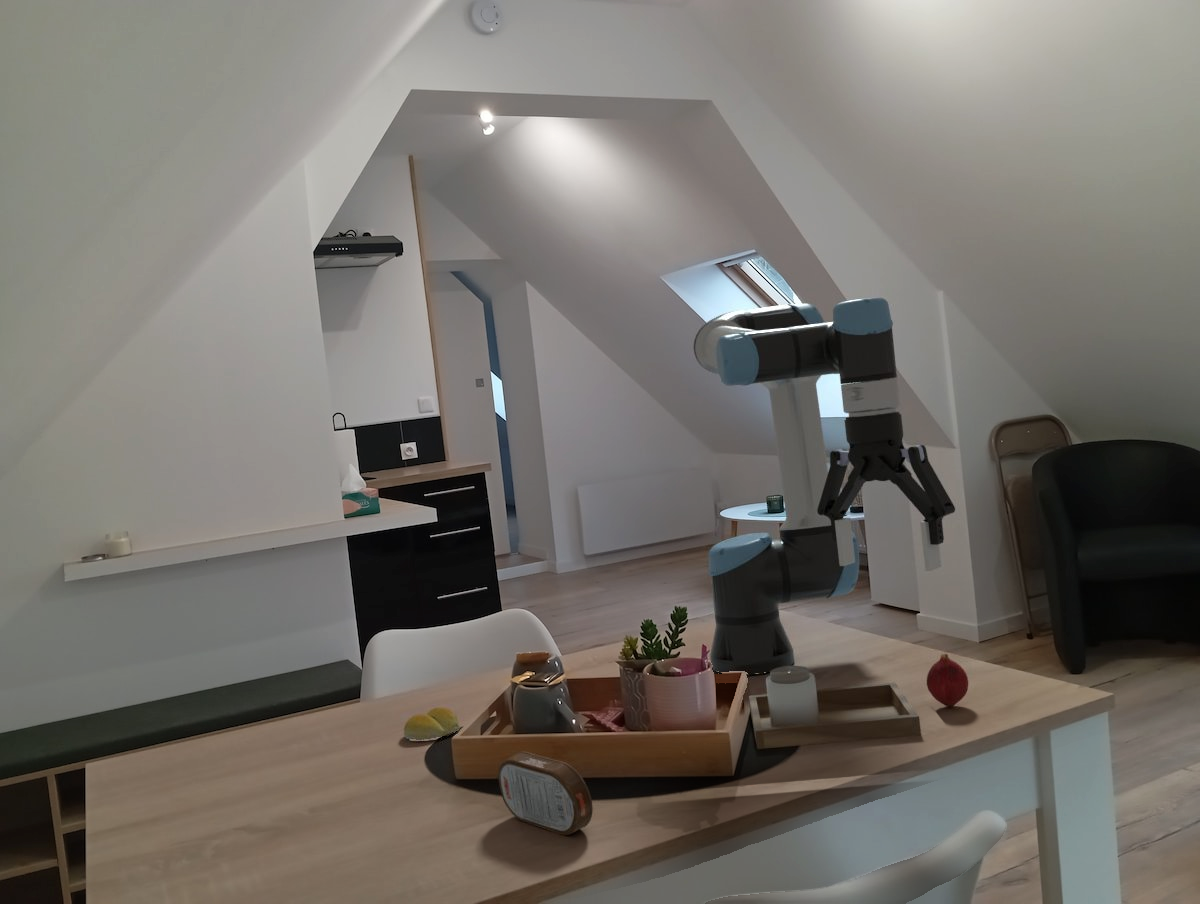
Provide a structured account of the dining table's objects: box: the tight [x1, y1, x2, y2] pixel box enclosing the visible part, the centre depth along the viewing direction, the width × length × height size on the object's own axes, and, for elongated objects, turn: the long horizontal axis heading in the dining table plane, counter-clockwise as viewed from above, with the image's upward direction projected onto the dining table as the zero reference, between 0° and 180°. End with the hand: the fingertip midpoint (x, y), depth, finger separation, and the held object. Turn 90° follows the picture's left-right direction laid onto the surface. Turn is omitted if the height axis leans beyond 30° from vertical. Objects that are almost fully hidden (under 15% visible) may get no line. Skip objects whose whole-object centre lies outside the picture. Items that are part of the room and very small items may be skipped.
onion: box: [926, 652, 969, 708], centre depth 146 cm, size 6×6×8 cm
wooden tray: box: [748, 681, 922, 750], centre depth 143 cm, size 16×22×4 cm
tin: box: [497, 750, 594, 836], centre depth 122 cm, size 15×3×8 cm, turn 44°
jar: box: [765, 665, 820, 727], centre depth 144 cm, size 7×7×8 cm
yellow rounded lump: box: [403, 707, 461, 740], centre depth 164 cm, size 8×9×4 cm
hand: (888, 566), depth 137 cm, fingers open, 13 cm apart
